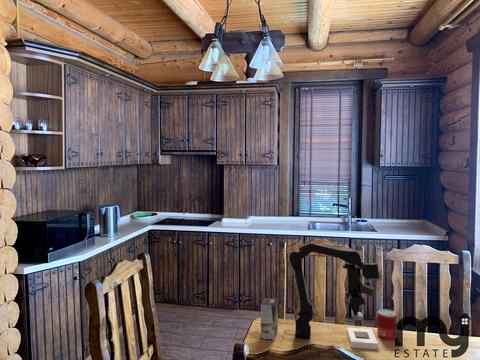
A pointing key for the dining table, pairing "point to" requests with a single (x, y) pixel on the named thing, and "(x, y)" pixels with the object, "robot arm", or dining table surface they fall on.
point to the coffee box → (269, 318)
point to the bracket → (358, 317)
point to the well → (362, 343)
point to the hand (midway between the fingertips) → (354, 313)
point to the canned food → (386, 324)
